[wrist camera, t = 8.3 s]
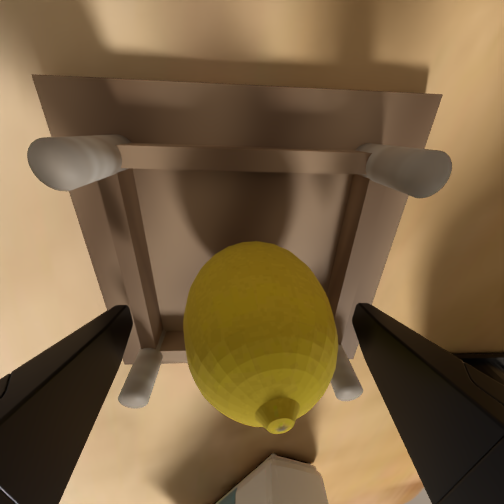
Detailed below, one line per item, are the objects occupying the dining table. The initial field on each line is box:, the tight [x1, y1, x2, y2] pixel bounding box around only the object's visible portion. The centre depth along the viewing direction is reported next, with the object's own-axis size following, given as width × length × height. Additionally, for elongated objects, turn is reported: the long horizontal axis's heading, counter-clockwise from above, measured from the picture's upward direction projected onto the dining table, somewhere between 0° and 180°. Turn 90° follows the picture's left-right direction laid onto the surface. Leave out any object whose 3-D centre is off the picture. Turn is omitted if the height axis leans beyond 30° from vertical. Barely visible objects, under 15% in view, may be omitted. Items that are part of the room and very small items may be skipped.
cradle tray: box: [27, 75, 452, 408], centre depth 12 cm, size 16×16×5 cm
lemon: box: [183, 241, 338, 434], centre depth 9 cm, size 6×6×8 cm
